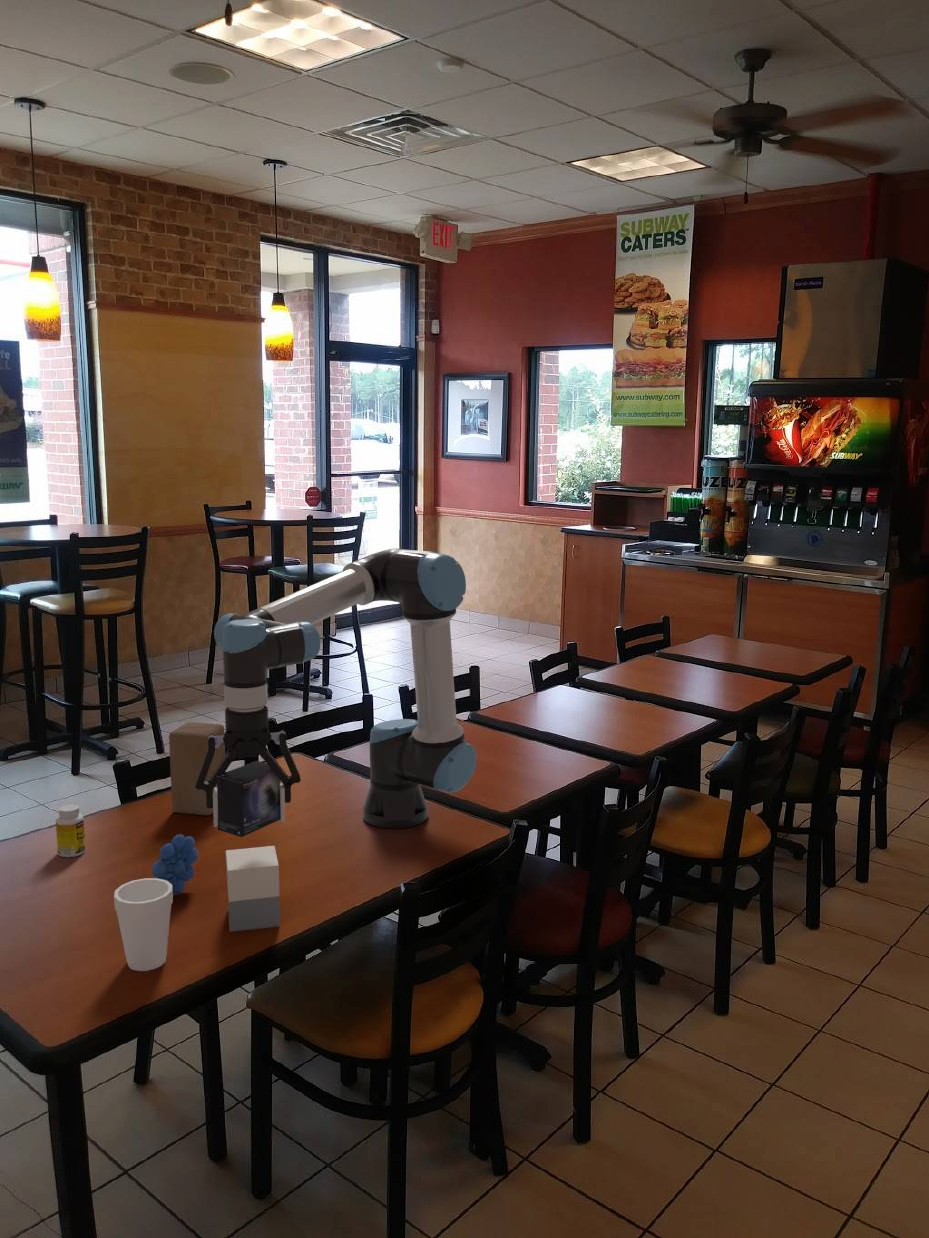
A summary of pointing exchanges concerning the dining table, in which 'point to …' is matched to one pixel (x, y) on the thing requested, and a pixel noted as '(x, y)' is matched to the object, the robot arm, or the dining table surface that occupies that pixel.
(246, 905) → the tower base
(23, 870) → the dining table surface
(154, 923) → the foam cup
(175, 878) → the grapes
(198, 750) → the block
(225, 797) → the small box
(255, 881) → the tower top
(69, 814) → the supplement bottle
